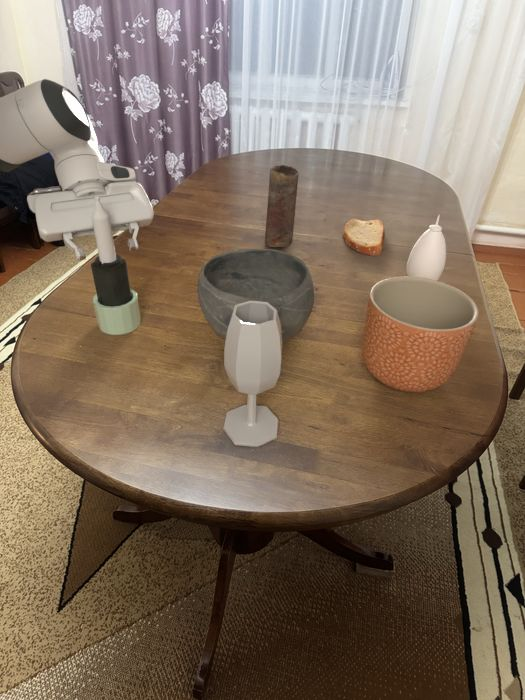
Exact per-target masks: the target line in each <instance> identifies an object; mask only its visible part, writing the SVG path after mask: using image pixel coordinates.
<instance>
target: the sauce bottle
mask: <svg viewBox="0 0 525 700" xmlns="http://www.w3.org/2000/svg"><path fill="white" fill-rule="evenodd" d="M439 221H440V214H438V216H437V218H436V221H435V223H434V224H431V225H429V227H428V229H427V230H426V231H425V232H423V233H422V235H421V236H420V237H419V238H418V239H417V240H416V241H415V244H414V245H413V247H412V249H411V250H410V253H409V256H408V258H407V263H406V271H405V273H406V276H413V277H422V278H428V279H433V280H436V281H440V278H441V276H442V274H443V272H444V269H445V265H446V260H447V245H446V239H445V236H444V234H443V232H442V231H443V228H442V226H441V225H439Z"/></svg>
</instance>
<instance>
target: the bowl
mask: <svg viewBox="0 0 525 700" xmlns="http://www.w3.org/2000/svg"><path fill="white" fill-rule="evenodd" d="M197 299H198V303H199V307H200V309H201V312H202V314H203V317H204V318H205V320H206V322H207V323H208V325H209V327H210V328H211V329H212V330H213V331H214V333H215V334H217V335H218V336H219V337H220V338H221V339H223V340H224V341H226V336H227V330H228V326H229V322H230V318H231V315H232V312H233V309H234V306H235V305H237V304H240V303H244V302H247V301H260V302H268V303H269V304H270V305H271V306H273V307H274V308H275V309H276V310H277V312H278V316H279V320H280V323H281V332H282V343H283V344H284V343H285V342H287V341H288V340H291V339H292V338H294V337H295V336H296V335H297V334H298V333H300V332H301V331H302V330H303V328H304V327H305V325H307V324H306V323H307V322H308V320H309V319H310V316H311V313H312V311H313V307H314V304H315V286H314V282H313V277H312V274H311V271H310V269H309V267H308V265H306V263H305V262H304V260H302V259H301V258H299V257H297V255H293V254H291V253H288V252H285V251H282V250H279V249H272V248H239V249H235V250H230V251H227V252H222V253H220V254H216V255H214V256H211V258H209V259H208V260H206V261H205V262H204V263H203V265H202V267H201V269H200V272H199V275H198V279H197Z"/></svg>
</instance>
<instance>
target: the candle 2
mask: <svg viewBox="0 0 525 700" xmlns="http://www.w3.org/2000/svg"><path fill="white" fill-rule="evenodd" d="M299 176H300V173H299V171H298V169H296V168H295V167H293V166H289V165H285V164H280V165H274V166H273V167H271V168H270V170H269V180H268V195H267V207H266V220H265V233H264V244H265V245H266V246H268V248H278V249H286V248H288V247H289V246H291V245H292V243H293V236H294V227H295V216H296V215H295V214H296V207H297V206H296V205H297V195H298V186H299V185H298V184H299Z"/></svg>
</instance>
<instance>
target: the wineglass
mask: <svg viewBox="0 0 525 700" xmlns="http://www.w3.org/2000/svg"><path fill="white" fill-rule="evenodd" d="M283 344H284V342H283V343H282V332H281V323H280V320H279V316H278V312H277V310H276V309H275V308H274V307H273V306H271V305H270V304H269V303H268V302H260V301H247V302H244V303H240V304H237V305H235V306H234V309H233V312H232V315H231V318H230V322H229V326H228V330H227V336H226V340H225V343H224V348H223V349H224V350H223V362H224V364H223V365H224V369H225V372H226V375H227V379H228V381H229V383H230V384H231V385H232V386H233V387H234V388H235V390H237V392H238V393H242V394H245V395H247V401H246V402H247V403H245V404H243V405H241V406H238V407H235V408H233V409H230V410H228V411H226V414H225V419H224V423H223V429H222V430H223V431H224V433H225V434H226V436H227V437H228V438H229V440H231V442H232V443H233V445H234V446H240V447H241V446H244V447H251V448H260V446H263V445H266V444H268V443H270V442H272V441H274V440H277V438H278V432H279V418H277V416H276V415H275V414H274V413H273V412H272V411H271V410H270V409H269V407H268V406H267V405H257V399H258V398H257V397H258V394H261V393H264V392H266V391H269V390H271V389H273V388H275V387H276V384H277V382H278V379H279V377H280V375H281V369H282V359H283V358H282V357H283Z"/></svg>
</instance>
